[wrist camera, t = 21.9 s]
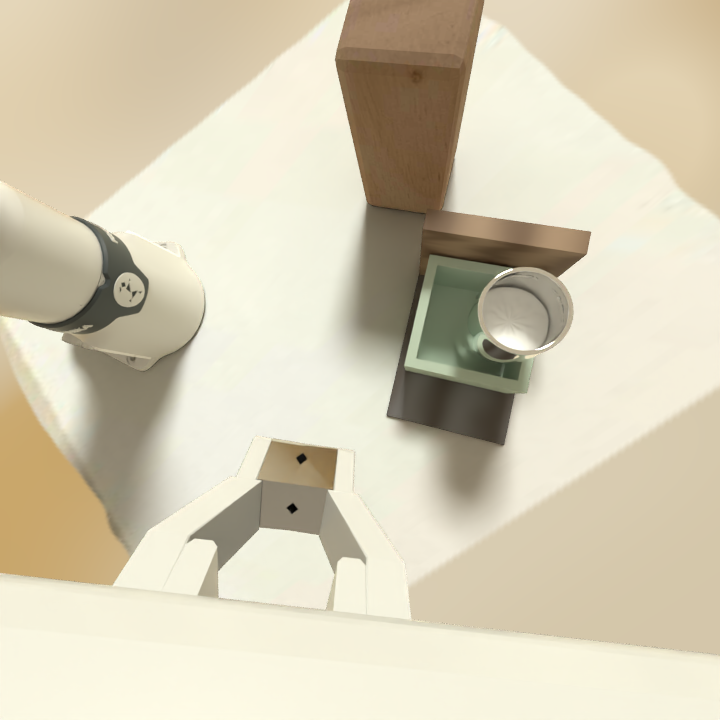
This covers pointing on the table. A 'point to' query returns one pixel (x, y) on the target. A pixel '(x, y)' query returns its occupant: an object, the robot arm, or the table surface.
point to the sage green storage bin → (456, 327)
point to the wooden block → (406, 94)
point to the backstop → (490, 246)
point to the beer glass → (514, 318)
